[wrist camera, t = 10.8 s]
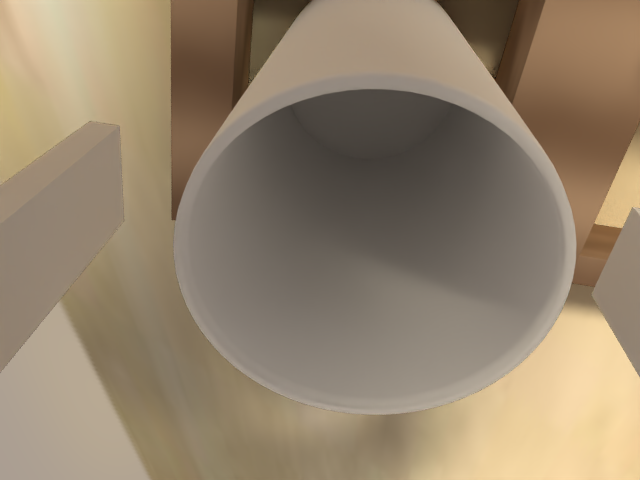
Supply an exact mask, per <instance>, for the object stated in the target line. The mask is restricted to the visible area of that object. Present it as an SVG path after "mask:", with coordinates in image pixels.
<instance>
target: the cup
mask: <svg viewBox="0 0 640 480" xmlns="http://www.w3.org/2000/svg"><path fill="white" fill-rule="evenodd" d="M173 248H174V263H175V269H176V275H177V279H178V283H179V286H180V290H181V293H182V295H183V298H184V300H185V303H186V305H187V307H188V309H189V311H190V313H191V315H192V317H193V319H194V321H195V322H196V324H197V325H198V327H199V328H200V330H201V332H202V333H203V334H204V335H205V337H206V338H207V339H208V341H209V342H210V343H211V344H212V345H213V346H214V348H215V349H216V350H217V351H218V352H219V353H220V354H221V355H222V356H223V357H224V358H225V359H226V360H228V361H229V362H230V363H231V364H232V365H233V366H234V367H236V368H237V369H238V370H240V371H241V372H242V373H244V374H245V375H246V376H248V377H249V378H251V379H252V380H254V381H255V382H257V383H259V384H260V385H262V386H264V387H266V388H268V389H270V390H271V391H273V392H275V393H278V394H280V395H282V396H284V397H287V398H289V399H292V400H295V401H297V402H300V403H303V404H306V405H310V406H313V407H317V408H321V409H326V410H331V411H335V412H343V413H350V414H363V415H389V414H402V413H409V412H416V411H421V410H426V409H431V408H435V407H438V406H442V405H445V404H449V403H452V402H454V401H457V400H460V399H462V398H465V397H467V396H469V395H472V394H474V393H476V392H478V391H480V390H482V389H484V388H486V387H487V386H489V385H491V384H493V383H494V382H496V381H498V380H499V379H500V378H502V377H503V376H505V375H506V374H508V373H509V372H511V371H512V370H513V369H514V368H515V367H517V366H518V365H519V364H520V363H522V362H523V361H524V360H525V359H526V358H527V357H528V356H529V355H530V354H531V353H532V352H533V351H534V350H535V349H536V347H537V346H538V345H539V344H540V343H541V342H542V340H543V339H544V338H545V337H546V335H547V334H548V332H549V331H550V329H551V328H552V327H553V325H554V323H555V322H556V320H557V318H558V316H559V314H560V313H561V311H562V309H563V306H564V304H565V301H566V299H567V296H568V294H569V290H570V287H571V283H572V280H573V275H574V269H575V263H576V233H575V224H574V219H573V215H572V210H571V207H570V204H569V201H568V198H567V195H566V192H565V189H564V187H563V184H562V182H561V180H560V178H559V176H558V173H557V171H556V169H555V167H554V165H553V164H552V162H551V161H550V159H549V157H548V156H547V154H546V153H545V151H544V150H543V148H542V147H541V145H540V144H539V143H538V141H537V140H536V138H535V137H534V135H533V134H532V133H531V131H530V130H529V128H528V127H527V125H526V124H525V123H524V121H523V120H522V118H521V117H520V115H519V114H518V113H517V111H516V110H515V108H514V107H513V105H512V104H511V103H510V101H509V100H508V98H507V97H506V96H505V94H504V93H503V91H502V90H501V89H500V87H499V86H498V84H497V83H496V82H495V80H494V79H493V77H492V76H491V75H490V73H489V72H488V70H487V69H486V67H485V66H484V65H483V63H482V62H481V60H480V59H479V58H478V56H477V55H476V53H475V52H474V51H473V49H472V48H471V46H470V45H469V44H468V42H467V41H466V39H465V38H464V37H463V35H462V34H461V32H460V31H459V30H458V28H457V27H456V25H455V24H454V22H453V21H452V20H451V18H450V17H449V15H448V14H447V13H446V11H445V10H444V9H443V8H442V7H441V5H440V4H439V3H438V2H437V1H436V0H312V1H310V2H309V3H308V4H307V5H306V7H305V8H304V9H303V10H302V11H301V12H300V14H299V15H298V16H297V18H296V19H295V20H294V22H293V23H292V25H291V26H290V28H289V29H288V31H287V32H286V33H285V35H284V36H283V38H282V39H281V41H280V42H279V44H278V45H277V46H276V48H275V49H274V51H273V52H272V54H271V55H270V57H269V58H268V59H267V61H266V62H265V64H264V65H263V67H262V68H261V70H260V71H259V72H258V74H257V75H256V77H255V78H254V80H253V81H252V83H251V84H250V85H249V87H248V88H247V90H246V91H245V93H244V94H243V96H242V97H241V98H240V100H239V101H238V103H237V104H236V106H235V107H234V109H233V110H232V111H231V113H230V114H229V116H228V117H227V119H226V120H225V122H224V123H223V125H222V126H221V127H220V129H219V130H218V132H217V133H216V135H215V136H214V138H213V139H212V141H211V142H210V144H209V145H208V147H207V148H206V149H205V151H204V152H203V154H202V156H201V157H200V159H199V161H198V162H197V164H196V166H195V167H194V169H193V171H192V174H191V176H190V178H189V180H188V182H187V185H186V187H185V190H184V192H183V195H182V198H181V201H180V205H179V208H178V211H177V217H176V222H175V227H174V240H173Z"/></svg>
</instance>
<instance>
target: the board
mask: <svg viewBox="0 0 640 480" xmlns="http://www.w3.org/2000/svg"><path fill="white" fill-rule="evenodd" d="M253 5H254V0H171V156H172V220H176V217H177V211H178V208H179V205H180V201H181V198H182V195H183V192H184V190H185V187H186V185H187V182H188V180H189V178H190V176H191V174H192V171H193V169H194V167H195V166H196V164H197V162H198V161H199V159H200V157H201V156H202V154H203V152H204V151H205V149H206V148H207V147H208V145H209V144H210V142H211V141H212V139H213V138H214V136H215V135H216V133H217V132H218V130H219V129H220V127H221V126H222V125H223V123H224V122H225V120H226V119H227V117H228V116H229V114H230V113H231V111H232V110H233V109H234V107H235V106H236V104H237V103H238V101H239V100H240V98H241V97H242V96H243V94H244V93H245V91H246V90H247V88H248V78H249V64H250V49H251V35H252V20H253ZM495 82H496V83H497V84H498V86H499V87H500V89H501V90H502V91H503V93H504V94H505V96H506V97H507V98H508V100H509V101H510V103H511V104H512V105H513V107H514V108H515V110H516V111H517V113H518V114H519V115H520V117H521V118H522V120H523V121H524V123H525V124H526V125H527V127H528V128H529V130H530V131H531V133H532V134H533V135H534V137H535V138H536V140H537V141H538V143H539V144H540V145H541V147H542V148H543V150H544V151H545V153H546V154H547V156H548V157H549V159H550V161H551V162H552V164H553V165H554V167H555V169H556V171H557V173H558V176H559V178H560V180H561V182H562V184H563V187H564V189H565V192H566V195H567V198H568V201H569V204H570V207H571V210H572V215H573V219H574V224H575V233H576V263H575V269H574V275H573V280H572V283H574V284H580V285H586V286H592V287H595V285H596V283H597V281H598V279H599V277H600V275H601V273H602V271H603V268H604V266H605V264H606V262H607V260H608V258H609V256H610V254H611V252H612V249H613V247H614V245H615V243H616V241H617V239H618V237H619V235H620V232H621V230H622V228H615V227H609V226H603V225H596V224H594V222H595V220H596V218H597V215H598V213H599V211H600V209H601V207H602V204H603V202H604V200H605V198H606V195H607V193H608V191H609V189H610V187H611V184H612V182H613V180H614V178H615V175H616V173H617V171H618V169H619V167H620V164H621V162H622V160H623V158H624V155H625V153H626V151H627V149H628V147H629V144H630V142H631V140H632V138H633V135H634V133H635V131H636V129H637V127H638V124H639V122H640V0H519V3H518V6H517V9H516V13H515V16H514V20H513V23H512V26H511V30H510V33H509V36H508V40H507V43H506V46H505V50H504V53H503V56H502V60H501V63H500V66H499V70H498V73H497V77H496V80H495Z"/></svg>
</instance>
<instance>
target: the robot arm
mask: <svg viewBox="0 0 640 480" xmlns="http://www.w3.org/2000/svg"><path fill="white" fill-rule="evenodd" d="M123 222H124V207H123V186H122V165H121V144H120V126H117V125H111V124H105V123H98V122H92V121H89V122H88V123H86V124H85V125H84V126H82V127H81V128H79V129H78V130H77V131H75V132H74V133H73V134H71V135H70V136H68V137H67V138H66V139H64V140H63V141H61V142H60V143H59V144H57V145H56V146H54V147H53V148H52V149H50V150H49V151H47V152H46V153H45V154H43V155H42V156H41V157H39V158H38V159H36V160H35V161H34V162H32V163H31V164H29V165H28V166H27V167H25V168H24V169H22V170H21V171H20V172H18V173H17V174H15V175H14V176H13V177H11V178H10V179H9V180H7V181H6V182H4V183H3V184H2V185H0V372H1V371H2V370H3V369H4V367H5V366H6V365H7V364H8V362H9V361H10V360H11V359H12V357H13V356H14V355H15V354H16V353H17V352H18V350H19V349H20V348H21V347H22V345H23V344H24V343H25V342H26V340H27V339H28V338H29V337H30V335H31V334H32V333H33V332H34V331H35V330H36V328H37V327H38V326H39V324H40V323H41V322H42V321H43V320H44V318H45V317H46V316H47V315H48V314H49V312H50V311H51V310H52V309H53V307H54V306H55V305H56V304H57V303H58V301H59V300H60V299H61V298H62V296H63V295H64V294H65V293H66V292H67V290H68V289H69V288H70V287H71V285H72V284H73V283H74V282H75V281H76V279H77V278H78V277H79V276H80V274H81V273H82V272H83V271H84V270H85V268H86V267H87V266H88V265H89V263H90V262H91V261H92V260H93V258H94V257H95V256H96V255H97V254H98V252H99V251H100V250H101V249H102V247H103V246H104V245H105V244H106V243H107V241H108V240H109V239H110V238H111V236H112V235H113V234H114V233H115V232H116V230H117V229H118V228H119V227H120V225H121V224H122V223H123ZM591 295H592V297H593V299H594V301H595V302H596V304H597V306H598V307H599V309H600V311H601V312H602V314H603V316H604V317H605V319H606V321H607V323H608V324H609V326H610V328H611V329H612V331H613V333H614V334H615V336H616V338H617V340H618V341H619V343H620V345H621V346H622V348H623V350H624V351H625V353H626V355H627V357H628V358H629V360H630V362H631V363H632V365H633V367H634V368H635V370H636V372H637V374H638V375H639V377H640V208H636V207H632V209H631V211H630V213H629V216H628V218H627V220H626V222H625V224H624V226H623V228H622V230H621V232H620V235H619V237H618V239H617V241H616V243H615V245H614V247H613V249H612V252H611V254H610V256H609V258H608V260H607V262H606V264H605V266H604V268H603V271H602V273H601V275H600V277H599V279H598V281H597V283H596V285H595V287H594V290H593V292H592V294H591Z"/></svg>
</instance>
